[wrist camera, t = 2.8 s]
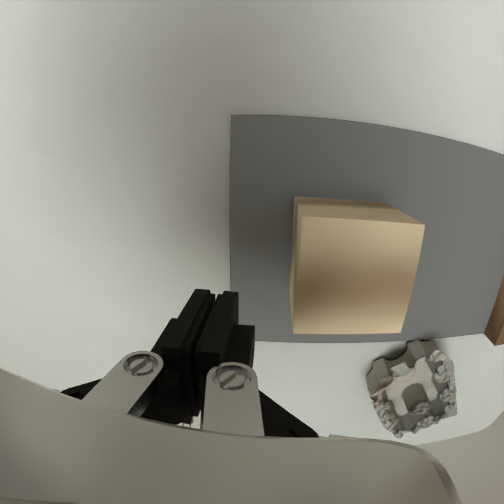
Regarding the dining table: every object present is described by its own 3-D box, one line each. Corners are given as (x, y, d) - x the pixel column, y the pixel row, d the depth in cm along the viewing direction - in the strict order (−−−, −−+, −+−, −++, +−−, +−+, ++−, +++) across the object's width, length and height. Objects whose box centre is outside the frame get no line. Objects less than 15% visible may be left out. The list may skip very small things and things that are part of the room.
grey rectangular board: (231, 115, 17) (231, 114, 17) (520, 160, 16) (522, 161, 15) (231, 337, 23) (231, 339, 22) (482, 331, 21) (483, 333, 21)
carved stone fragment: (357, 364, 23) (367, 399, 19) (435, 324, 21) (456, 354, 17) (385, 422, 25) (393, 452, 22) (447, 392, 24) (460, 419, 20)
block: (293, 195, 18) (302, 216, 13) (383, 201, 18) (425, 224, 12) (288, 283, 20) (292, 333, 15) (371, 285, 20) (400, 332, 14)
